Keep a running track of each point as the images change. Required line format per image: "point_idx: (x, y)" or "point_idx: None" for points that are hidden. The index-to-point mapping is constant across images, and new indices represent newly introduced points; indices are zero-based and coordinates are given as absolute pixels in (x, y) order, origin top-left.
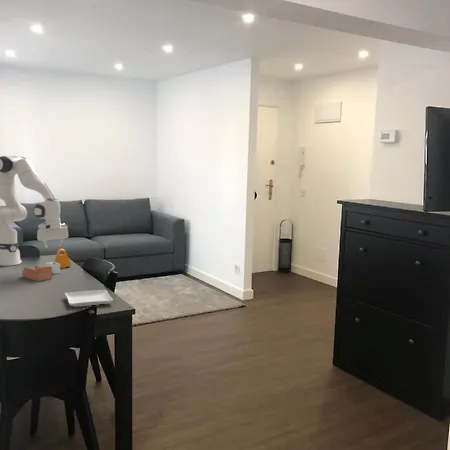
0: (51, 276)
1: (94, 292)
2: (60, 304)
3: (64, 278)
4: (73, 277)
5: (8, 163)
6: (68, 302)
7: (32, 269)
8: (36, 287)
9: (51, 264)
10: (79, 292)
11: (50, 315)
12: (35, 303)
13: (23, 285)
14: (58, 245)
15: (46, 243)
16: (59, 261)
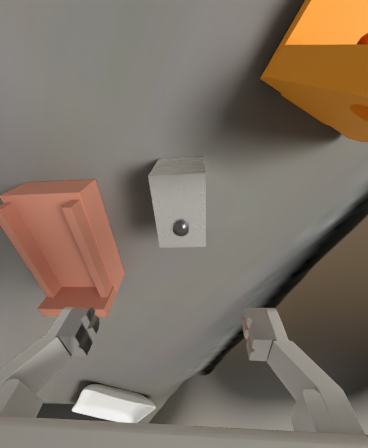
0: (121, 280)
1: (135, 399)
2: (69, 389)
3: (163, 291)
4: (194, 296)
5: None
6: (72, 408)
7: (33, 272)
8: (52, 316)
9: (157, 231)
10: (110, 395)
11: (44, 401)
12: None
13: (19, 287)
14: (244, 317)
15: (47, 380)
16: (312, 101)
